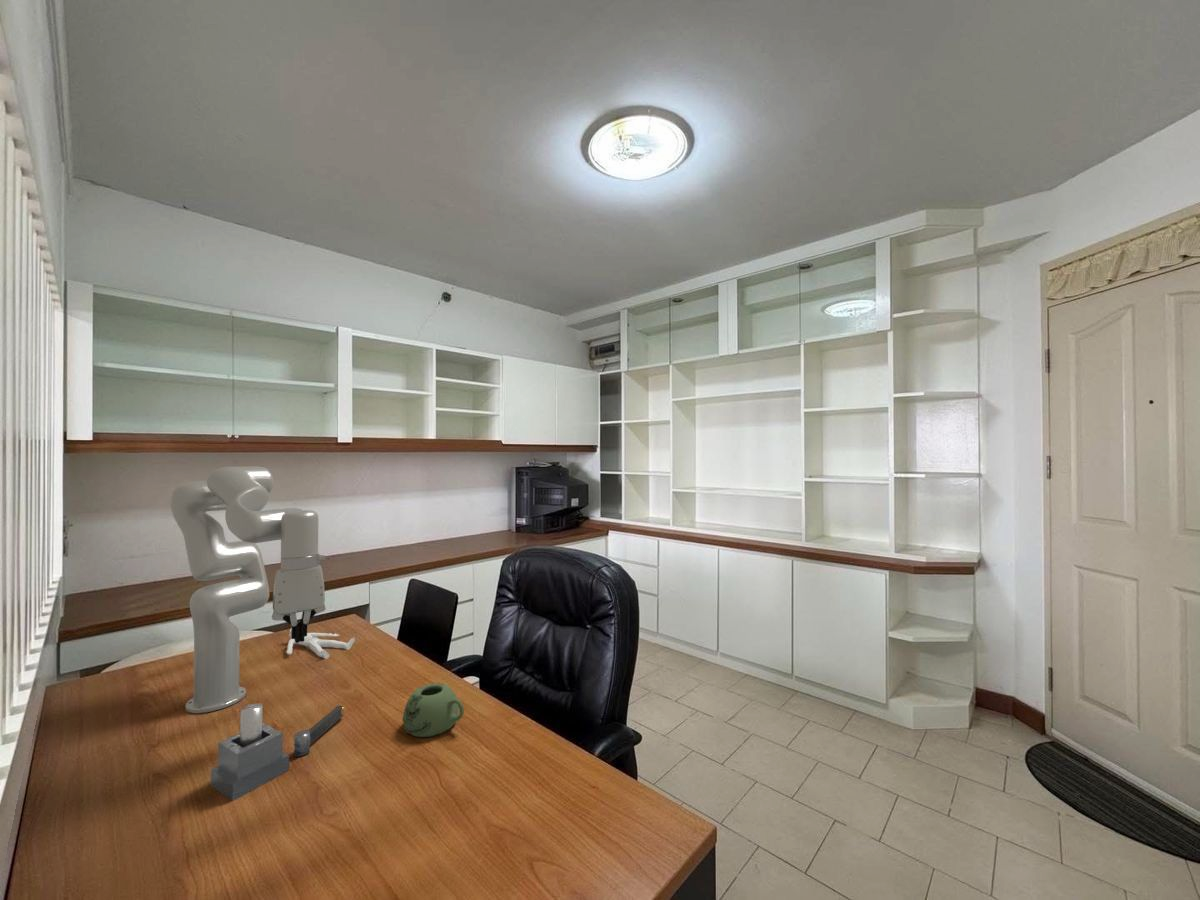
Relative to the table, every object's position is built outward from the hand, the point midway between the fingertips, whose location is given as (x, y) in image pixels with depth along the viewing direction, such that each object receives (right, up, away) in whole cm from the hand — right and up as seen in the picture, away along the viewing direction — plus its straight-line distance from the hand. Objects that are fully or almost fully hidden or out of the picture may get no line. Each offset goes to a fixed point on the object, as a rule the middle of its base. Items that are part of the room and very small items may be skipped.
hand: (299, 640), depth 110 cm
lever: (+6, -22, -1) cm, 23 cm away
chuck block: (0, -22, -15) cm, 27 cm away
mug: (+32, -22, +2) cm, 39 cm away
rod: (0, -19, -15) cm, 24 cm away
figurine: (-28, -24, +51) cm, 63 cm away
